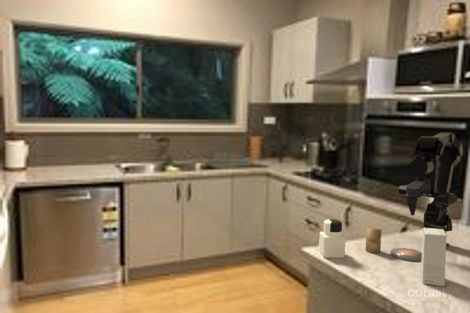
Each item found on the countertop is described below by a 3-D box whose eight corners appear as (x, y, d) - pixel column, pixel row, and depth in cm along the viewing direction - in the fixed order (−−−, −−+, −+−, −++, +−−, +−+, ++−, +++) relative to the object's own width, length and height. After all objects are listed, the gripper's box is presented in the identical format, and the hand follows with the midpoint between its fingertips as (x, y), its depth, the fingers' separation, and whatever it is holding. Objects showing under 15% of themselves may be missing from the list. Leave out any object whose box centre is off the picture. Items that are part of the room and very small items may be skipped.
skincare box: (444, 287, 115) (448, 236, 113) (421, 283, 117) (424, 233, 115) (441, 276, 122) (445, 228, 121) (419, 273, 125) (422, 226, 123)
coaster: (404, 248, 148) (404, 246, 148) (432, 258, 138) (432, 255, 138) (383, 253, 142) (383, 250, 142) (411, 263, 133) (411, 260, 133)
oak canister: (372, 247, 148) (373, 226, 147) (383, 252, 144) (384, 229, 143) (362, 249, 145) (363, 228, 144) (373, 254, 141) (374, 231, 140)
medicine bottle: (338, 251, 143) (340, 217, 142) (344, 258, 136) (346, 223, 135) (318, 251, 143) (320, 217, 142) (323, 258, 136) (325, 223, 135)
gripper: (389, 171, 142) (386, 214, 144) (439, 179, 126) (435, 228, 128) (409, 169, 148) (406, 211, 149) (460, 176, 132) (456, 224, 133)
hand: (424, 218), depth 140 cm, fingers open, 9 cm apart
